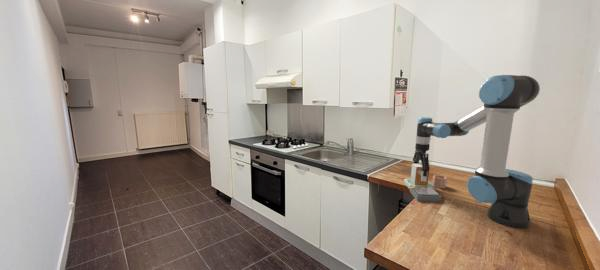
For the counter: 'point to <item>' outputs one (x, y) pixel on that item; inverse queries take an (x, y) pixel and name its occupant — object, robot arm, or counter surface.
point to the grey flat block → (424, 196)
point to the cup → (439, 181)
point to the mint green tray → (407, 182)
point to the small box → (418, 175)
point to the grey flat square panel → (425, 190)
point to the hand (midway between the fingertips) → (419, 177)
